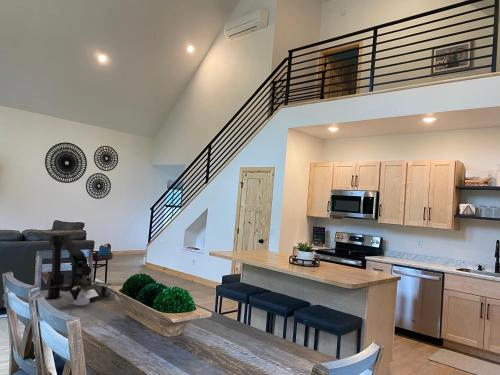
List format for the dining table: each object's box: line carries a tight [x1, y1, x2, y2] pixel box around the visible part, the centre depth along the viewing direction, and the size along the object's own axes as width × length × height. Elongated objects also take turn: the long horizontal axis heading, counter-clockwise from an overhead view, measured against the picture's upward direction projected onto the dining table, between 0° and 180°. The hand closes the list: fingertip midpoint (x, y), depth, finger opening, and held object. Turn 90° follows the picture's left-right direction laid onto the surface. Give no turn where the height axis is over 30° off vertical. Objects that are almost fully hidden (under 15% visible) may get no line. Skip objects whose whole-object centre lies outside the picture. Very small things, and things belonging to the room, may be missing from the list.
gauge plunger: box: [86, 280, 112, 300], centre depth 230 cm, size 18×6×9 cm, turn 69°
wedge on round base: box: [72, 289, 99, 306], centre depth 220 cm, size 9×7×13 cm
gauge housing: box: [82, 282, 116, 302], centre depth 231 cm, size 22×4×8 cm, turn 69°
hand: (75, 300), depth 213 cm, fingers closed
